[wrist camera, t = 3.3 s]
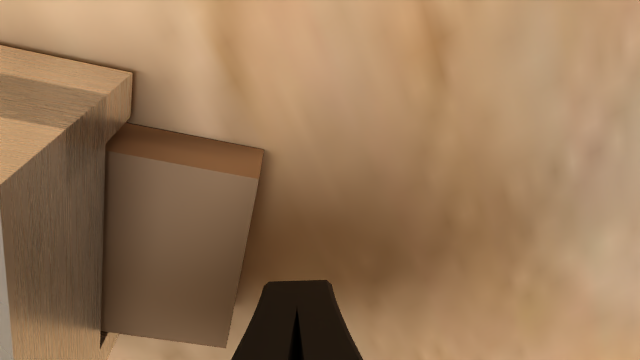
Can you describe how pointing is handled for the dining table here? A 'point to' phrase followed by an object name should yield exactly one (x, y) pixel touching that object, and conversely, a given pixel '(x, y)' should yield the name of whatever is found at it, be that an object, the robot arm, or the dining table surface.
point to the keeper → (54, 202)
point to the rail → (174, 233)
